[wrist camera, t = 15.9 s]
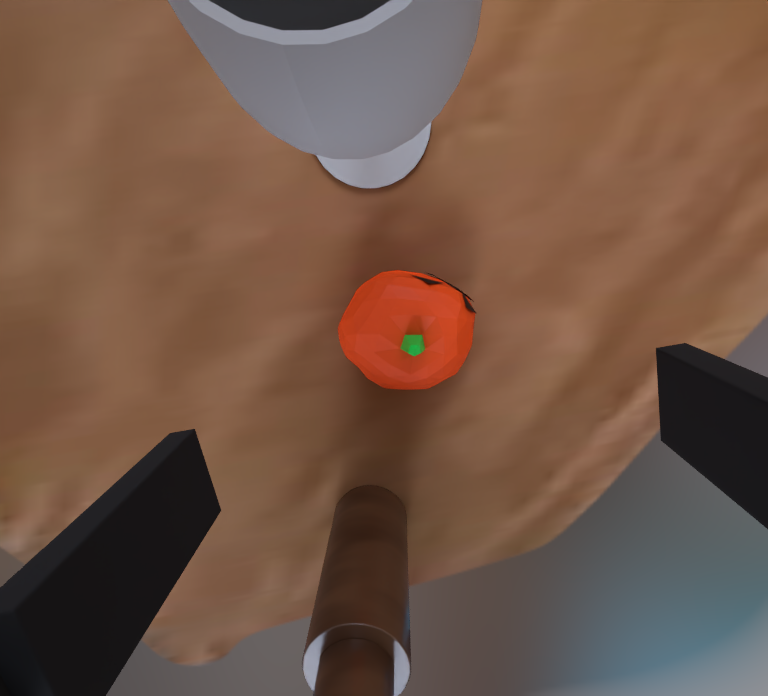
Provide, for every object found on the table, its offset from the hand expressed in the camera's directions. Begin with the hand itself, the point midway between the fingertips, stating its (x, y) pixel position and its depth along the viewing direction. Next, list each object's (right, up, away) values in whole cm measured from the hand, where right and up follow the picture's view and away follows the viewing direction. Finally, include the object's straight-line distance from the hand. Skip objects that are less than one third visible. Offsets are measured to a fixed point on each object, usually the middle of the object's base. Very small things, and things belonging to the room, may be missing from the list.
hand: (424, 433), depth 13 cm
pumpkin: (0, +4, +17) cm, 18 cm away
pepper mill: (-2, -10, +21) cm, 23 cm away
